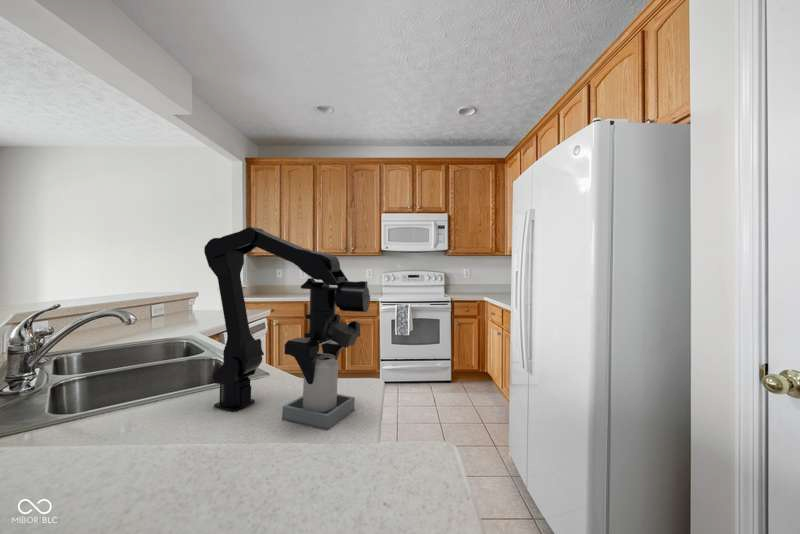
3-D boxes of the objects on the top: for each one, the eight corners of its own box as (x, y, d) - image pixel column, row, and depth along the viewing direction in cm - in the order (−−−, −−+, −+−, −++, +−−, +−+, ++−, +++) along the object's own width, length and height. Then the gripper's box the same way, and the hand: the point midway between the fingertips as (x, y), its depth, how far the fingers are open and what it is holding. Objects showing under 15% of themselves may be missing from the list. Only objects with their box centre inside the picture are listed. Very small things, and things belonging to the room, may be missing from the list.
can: (328, 417, 78) (330, 361, 78) (296, 413, 80) (298, 358, 80) (341, 404, 86) (343, 353, 86) (311, 400, 87) (313, 350, 87)
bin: (282, 420, 80) (282, 406, 80) (313, 401, 90) (313, 389, 90) (327, 430, 75) (327, 416, 75) (354, 410, 86) (354, 397, 86)
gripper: (330, 318, 71) (327, 399, 71) (373, 308, 88) (370, 373, 88) (283, 313, 75) (281, 389, 75) (333, 304, 92) (331, 366, 93)
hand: (320, 378), depth 83 cm, fingers closed on can, 7 cm apart
